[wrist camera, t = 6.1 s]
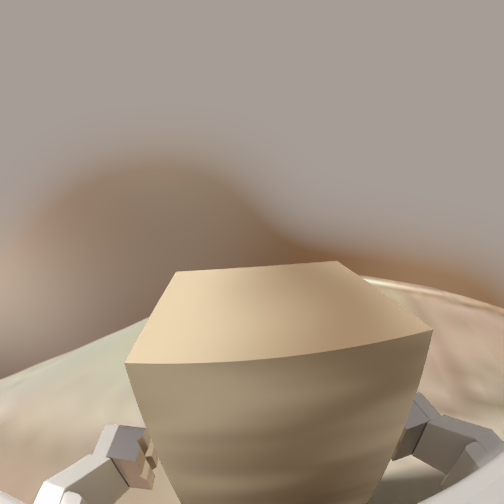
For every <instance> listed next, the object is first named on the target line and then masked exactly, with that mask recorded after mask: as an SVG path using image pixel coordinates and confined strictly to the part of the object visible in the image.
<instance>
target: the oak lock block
mask: <svg viewBox="0 0 504 504" xmlns="http://www.w3.org/2000/svg"><path fill="white" fill-rule="evenodd" d="M432 331H433V329H432V328H430V327H429V326H428V325H426V324H425V323H424V322H422V321H421V320H420V319H418V318H417V317H415V316H414V315H413V314H411V313H410V312H409V311H407V310H406V309H405V308H403V307H402V306H400V305H399V304H398V303H396V302H395V301H393V300H392V299H391V298H389V297H388V296H386V295H385V294H384V293H382V292H381V291H379V290H378V289H377V288H375V287H374V286H372V285H371V284H369V283H368V282H367V281H365V280H364V279H362V278H361V277H359V276H358V275H357V274H355V273H354V272H352V271H351V270H349V269H348V268H346V267H345V266H343V265H342V264H341V263H339V262H338V261H330V262H317V263H305V264H290V265H276V266H263V267H248V268H232V269H217V270H200V271H184V272H176V273H175V275H174V276H173V278H172V280H171V281H170V283H169V285H168V286H167V288H166V290H165V292H164V293H163V295H162V297H161V298H160V300H159V302H158V304H157V305H156V307H155V309H154V310H153V312H152V314H151V316H150V317H149V319H148V321H147V323H146V324H145V326H144V328H143V330H142V332H141V333H140V335H139V337H138V339H137V341H136V342H135V344H134V346H133V348H132V350H131V352H130V353H129V355H128V357H127V359H126V361H125V366H126V370H127V373H128V376H129V380H130V383H131V386H132V389H133V392H134V395H135V398H136V401H137V404H138V407H139V409H140V412H141V415H142V418H143V420H144V423H145V425H146V428H147V431H148V433H149V436H150V438H151V440H152V443H153V445H154V448H155V450H156V452H157V455H158V457H159V459H160V461H161V464H162V466H163V468H164V470H165V472H166V474H167V476H168V478H169V480H170V482H171V484H172V486H173V488H174V490H175V492H176V494H177V496H178V498H179V500H180V502H181V504H368V502H369V500H370V498H371V497H372V495H373V493H374V491H375V489H376V487H377V485H378V484H379V482H380V480H381V478H382V476H383V474H384V472H385V470H386V468H387V465H388V463H389V461H390V459H391V457H392V455H393V452H394V450H395V448H396V446H397V443H398V441H399V438H400V436H401V434H402V431H403V429H404V426H405V423H406V421H407V418H408V415H409V413H410V410H411V407H412V404H413V401H414V398H415V395H416V392H417V389H418V386H419V382H420V379H421V375H422V372H423V368H424V365H425V361H426V357H427V353H428V349H429V345H430V341H431V336H432Z"/></svg>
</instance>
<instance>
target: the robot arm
mask: <svg viewBox="0 0 504 504" xmlns="http://www.w3.org/2000/svg"><path fill="white" fill-rule="evenodd" d="M150 439H151V438H150V436H149V433H148V431H147V428H139V427H131V426H123V425H114V424H107V425H106V426H105V427H104V429H103V432H102V434H101V436H100V438H99V441H98V443H97V445H96V448H95V450H94V453H93V455H91V454H89V455H87V456H85V457H84V458H82V459H81V460H79V461H78V462H76V463H74V464H73V465H71V466H69V467H68V468H66V469H65V470H63V471H61V472H60V473H58V474H56V475H55V476H53V477H51V478H49V479H48V480H46V481H44V483H43V485H42V487H41V489H40V491H39V494H38V496H37V498H36V500H35V502H34V504H114V503H115V502H116V501H117V500H118V499H119V498H120V497H121V496H122V495H123V494H124V493H125V492H126V491H127V490H128V489H129V487H131V488H140V489H150V490H152V488H153V483H154V477H155V475H154V473H153V471H152V470H153V469H154V468H155V467H157V461H158V455H157V452H156V450H155V448H154V445H153V443H152V441H151V440H150ZM411 454H412V455H413V456H414V457H416V458H418V459H420V460H421V461H423V462H425V463H427V464H429V465H431V466H432V467H434V468H436V469H438V470H440V471H442V472H444V473H446V474H447V476H446V477H445V478H444V480H443V481H442V483H441V485H440V487H441V488H442V490H443V491H441V492H439V493H437V494H435V495H433V496H431V497H429V498H427V499H425V500H423V501H421V502H419V503H417V504H504V442H503V441H502V440H501V439H500V438H499V437H498V436H497V434H496V433H495V432H494V431H493V430H492V429H488V428H485V427H481V426H478V425H475V424H471V423H468V422H465V421H462V420H459V419H455V418H452V417H449V416H446V415H443V416H441V415H440V414H439V413H438V411H437V410H436V409H435V408H434V407H433V406H432V405H431V404H430V402H429V401H428V400H427V399H426V398H425V397H424V396H423V395H422V394H421V393H419V392H418V393H416V395H415V398H414V401H413V404H412V407H411V410H410V413H409V415H408V418H407V421H406V423H405V426H404V429H403V431H402V434H401V436H400V438H399V441H398V443H397V446H396V448H395V450H394V452H393V455H392V457H391V459H392V461H395V460H398V459H400V458H403V457H406V456H409V455H411ZM0 504H26V503H24V502H22V501H20V500H18V499H16V498H14V497H12V496H10V495H8V494H6V493H5V492H3V491H1V490H0Z"/></svg>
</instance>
